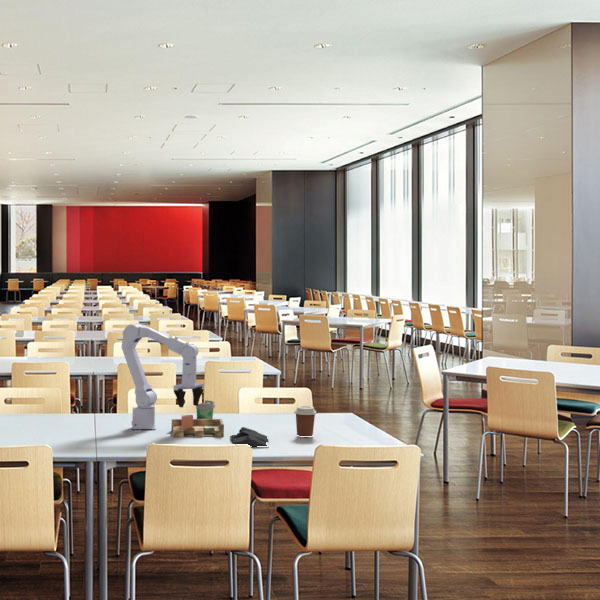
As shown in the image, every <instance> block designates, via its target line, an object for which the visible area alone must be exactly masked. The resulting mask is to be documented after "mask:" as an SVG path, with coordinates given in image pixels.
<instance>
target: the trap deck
mask: <svg viewBox="0 0 600 600" xmlns="http://www.w3.org/2000/svg"><path fill="white" fill-rule="evenodd" d="M181 422H182V418H172V419H171V431H170V432H171V433H172V436H173V438H217V437H218V438H221V437H222V438H223V437H225V436H224V435H225V434H224V433H225V428H224V427H225V424H224V422H223V420H222V419H221V418H212V419H197V418H193V428H182V426H181Z"/></svg>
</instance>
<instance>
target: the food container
mask: <svg viewBox="0 0 600 600" xmlns="http://www.w3.org/2000/svg"><path fill="white" fill-rule="evenodd" d="M215 405H216V404H215V402H214V401H212V400H209V399H208V400H207V399H205V400H204V402H201V403H198V406H196V407H195V408H196V419H214V418H213V416H214V409H215V408H216V406H215Z"/></svg>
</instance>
